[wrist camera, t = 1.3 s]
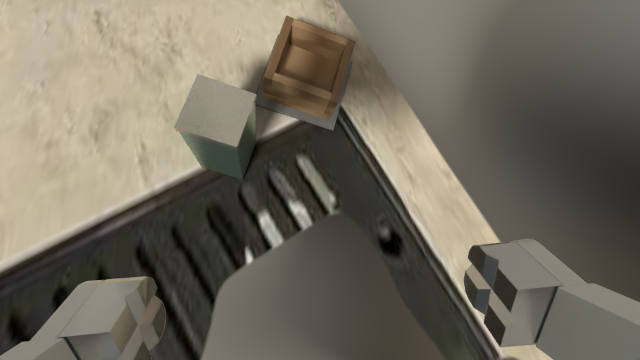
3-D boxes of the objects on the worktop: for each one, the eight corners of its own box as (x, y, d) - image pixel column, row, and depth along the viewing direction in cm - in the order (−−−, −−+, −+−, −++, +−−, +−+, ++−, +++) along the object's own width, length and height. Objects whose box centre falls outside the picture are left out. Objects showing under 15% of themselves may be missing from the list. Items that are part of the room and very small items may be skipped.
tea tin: (200, 167, 36) (174, 127, 25) (216, 129, 38) (197, 74, 26) (243, 180, 37) (236, 147, 25) (256, 142, 38) (256, 94, 27)
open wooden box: (263, 98, 40) (263, 76, 35) (283, 42, 42) (286, 15, 37) (328, 120, 41) (337, 102, 36) (344, 65, 43) (355, 41, 38)
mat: (253, 103, 40) (253, 102, 39) (278, 36, 43) (278, 34, 42) (332, 130, 41) (333, 129, 40) (351, 63, 44) (352, 61, 44)
